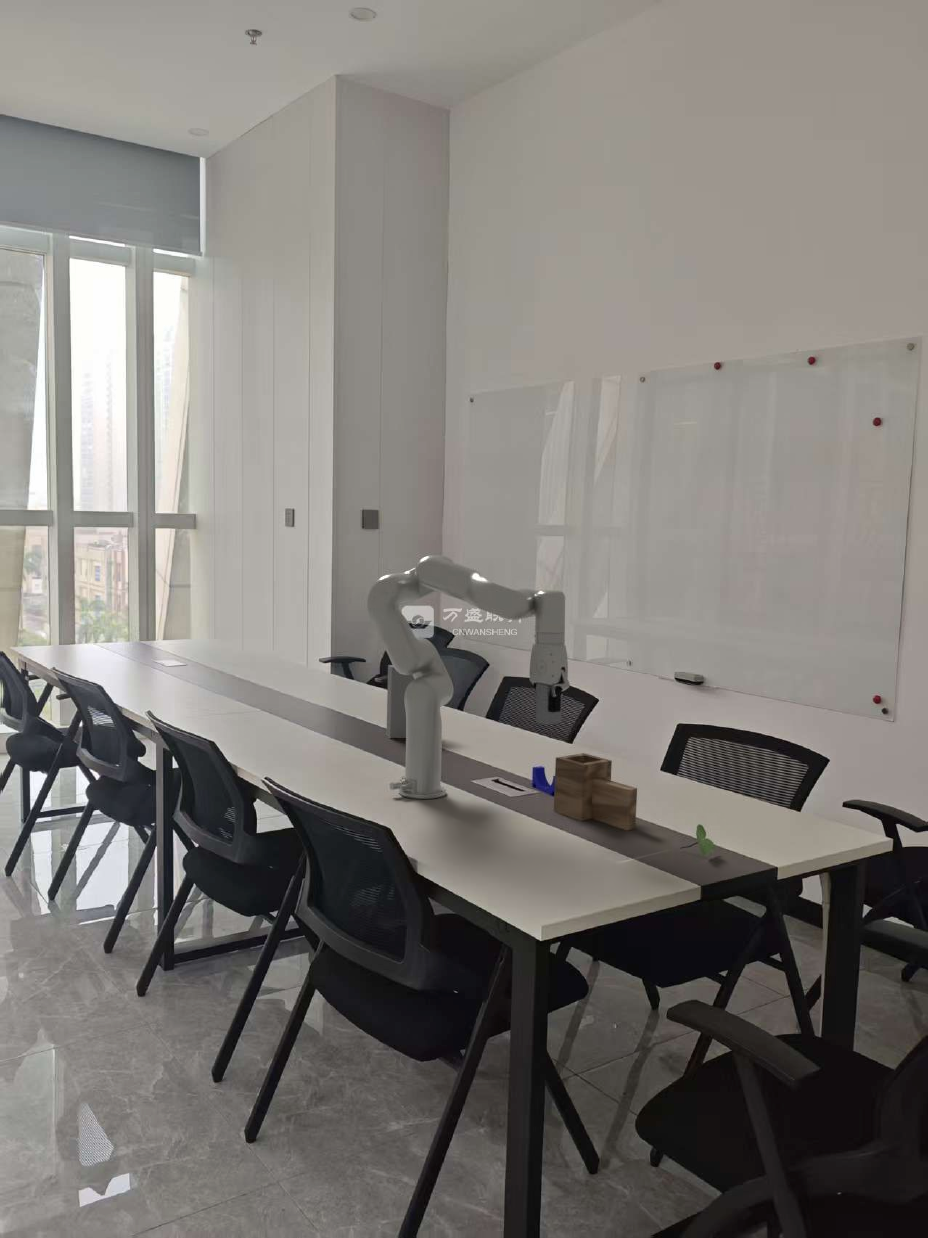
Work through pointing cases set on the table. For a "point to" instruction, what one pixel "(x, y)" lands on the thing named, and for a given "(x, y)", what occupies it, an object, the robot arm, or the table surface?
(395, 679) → the tall grey block
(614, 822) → the brown stepped hollow block
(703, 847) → the seedling
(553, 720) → the upright grey metal pillar
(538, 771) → the blue cradle block
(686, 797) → the table surface
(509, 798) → the table surface
